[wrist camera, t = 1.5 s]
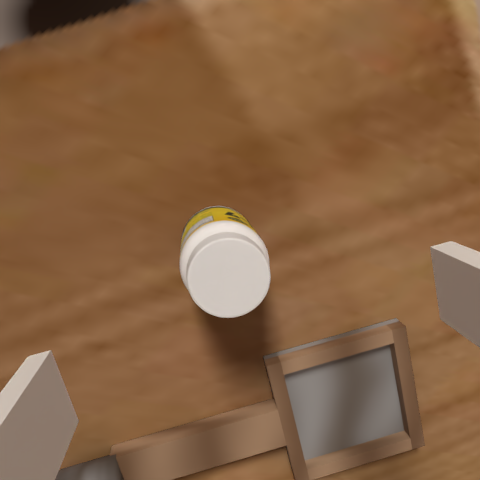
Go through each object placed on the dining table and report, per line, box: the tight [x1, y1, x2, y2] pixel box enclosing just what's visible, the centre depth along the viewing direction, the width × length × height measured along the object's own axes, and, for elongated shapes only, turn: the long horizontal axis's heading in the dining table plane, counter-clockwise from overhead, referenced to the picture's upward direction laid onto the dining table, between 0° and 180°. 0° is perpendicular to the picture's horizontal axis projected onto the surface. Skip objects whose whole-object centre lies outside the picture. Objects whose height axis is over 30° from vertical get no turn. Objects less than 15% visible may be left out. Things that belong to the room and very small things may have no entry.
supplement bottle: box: [180, 206, 270, 318], centre depth 24 cm, size 5×5×8 cm
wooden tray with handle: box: [55, 318, 425, 480], centre depth 30 cm, size 26×10×3 cm, turn 104°
